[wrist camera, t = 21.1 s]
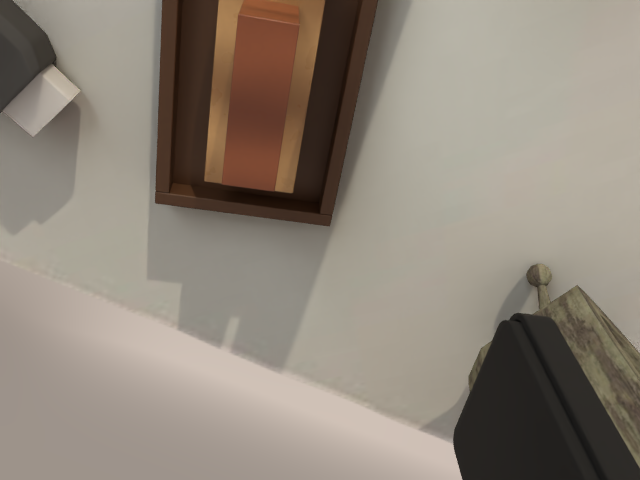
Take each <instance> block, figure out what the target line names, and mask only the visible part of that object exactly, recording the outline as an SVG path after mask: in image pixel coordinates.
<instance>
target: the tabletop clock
mask: <svg viewBox="0 0 640 480" xmlns="http://www.w3.org/2000/svg"><path fill="white" fill-rule="evenodd" d="M527 279H528V281H529V283H530V284H531V285H533V286H535V287H538V298H539V309H540V310H539V311H537V312H536V313H534V314H533V315H539V316H547V317H550V318H552V319H553V320H554V321H555V323H556V325H557V326H558V328H559V330H560V331H561V333H562V335H563V337H564V338H565V340H566V342H567V344H568V345H569V347H570V349H571V350H572V352H573V354H574V356H575V357H576V359H577V361H578V362H579V364H580V366H581V368H582V369H583V371H584V373H585V375H586V376H587V378H588V380H589V381H590V383H591V385H592V387H593V388H594V390H595V392H596V394H597V395H598V397H599V399H600V400H601V402H602V404H603V406H604V407H605V409H606V411H607V412H608V414H609V416H610V418H611V419H612V421H613V423H614V425H615V426H616V428H617V430H618V431H619V433H620V435H621V437H622V438H623V440H624V442H625V444H626V445H627V447H628V449H629V450H630V452H631V454H632V456H633V457H634V459H635V461H636V463H637V464H638V466H639V468H640V353H639V352H638V351H637V350H636V349H635V348H634V346H633V345H632V344H631V343H630V342H629V341H628V340H627V338H626V337H625V336H624V335H623V334H622V333H621V332H620V330H619V329H618V328H617V327H616V326H615V325H614V324H613V323H612V322H611V320H610V319H609V318H608V317H607V316H606V315H605V314H604V313H603V312H602V311H601V309H600V308H599V307H598V306H597V305H596V304H595V303H594V302H593V301H592V300H591V299H590V297H589V296H588V295H587V294H586V293H585V292H584V291H583V290H582V289H581V288H580V287H578V286H575V287H574V288H572V289H571V290H569V291H568V292H566V293H565V294H563V295H562V296H560V297H559V298H557V299H556V300H554V301H552V302H550V299H549V296H548V293H547V289H546V286H547V285H548V283H549V282H550V281H551V279H552V275H551V272H550V269H549V268H548V267H546V266H545V265H543V264H536V265H533V266H531V267H530V269H529V270H528V271H527ZM491 342H492V341H491ZM491 342H490V343H488V344H487V345H485V346H484V347H482V348H481V350H480V352H479V354H478V357H477V359H476V361H475V363H474V365H473V368H472V370H471V372H470V374H469V388H470V392H471V389H472V387H473V385H474V382H475V380H476V378H477V375H478V373H479V371H480V368H481V366H482V364H483V361H484V359H485V357H486V354H487V352H488V349H489V347H490V345H491Z"/></svg>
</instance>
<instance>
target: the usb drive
mask: <svg viewBox="0 0 640 480" xmlns="http://www.w3.org/2000/svg"><path fill="white" fill-rule="evenodd" d="M55 60H56V55H55V53H54V51H53V48H52V46H51V44H50V41H49V39H48V37H47V35H46V33H45V32H44V31H43V30H42V29H41V28H40V27H39V26H38V25H37V24H36V23H35V22H34V21H33V20H32V19H31V18H30V17H29V16H28V15H27V14H26V13H25V12H24V11H23V10H21V9H20V8H19V7H18V6H17V5H16V4H15V3H14V2H13V1H12V0H0V113H1V112H2V111H3V112H4V113H5V114H7V115H8V116H9V117H10V118H11V119H12V120H13V121H15V122H16V123H17V124H18V125H19V126H20V127H22V128H23V129H24V130H25V131H26V132H27V133H28V134H30V135H31V136H32V137H34V136H35V135H36V134H37V133H38V132H39V131H40V130H41V129H42V128H43V127H44V126H45V125H46V124H47V123H48V122H49V121H50V120H52V119H53V118H54V117H55V116H56V115H57V114H58V113H59V112H60V111H61V110H62V109H63V108H64V107H65V106H66V105H67V104H68V103H69V102H70V101H71V100H72V99H73V98H74V97H75V96H76V95H77V94H78V93H79V92H80V90H79V89H78V88H77V87H76V86H75V85H74V84H73V83H72V82H71V81H70V80H69V79H67V78H66V77H65V76H64V75H63V74H62V73H61V72H60V71H59V70H58V69H57V68H56V67H55V66H54V65H53V64H52V63H53V62H54V61H55Z"/></svg>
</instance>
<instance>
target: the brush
mask: <svg viewBox="0 0 640 480" xmlns="http://www.w3.org/2000/svg"><path fill="white" fill-rule="evenodd" d="M324 6H325V0H219V2H218V15H217V27H216V39H215V52H214V64H213V77H212V89H211V101H210V114H209V126H208V138H207V151H206V163H205V176H204V181H207V182H214V183H221V184H222V185H229V186H236V187H244V188H251V189H258V190H266V191H273V192H274V191H279V192H287V193H293V190H294V184H295V178H296V172H297V166H298V160H299V154H300V148H301V142H302V136H303V131H304V125H305V119H306V113H307V107H308V101H309V95H310V89H311V83H312V77H313V71H314V65H315V59H316V53H317V48H318V42H319V36H320V30H321V24H322V18H323V12H324Z"/></svg>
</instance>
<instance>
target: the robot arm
mask: <svg viewBox="0 0 640 480" xmlns="http://www.w3.org/2000/svg"><path fill="white" fill-rule="evenodd" d="M453 443H454V450H455V454H456V458H457V461H458V465H459V468H460V472H461V476H462V479H463V480H640V468H639V466H638V464H637V463H636V461H635V459H634V457H633V456H632V454H631V452H630V450H629V449H628V447H627V445H626V444H625V442H624V440H623V438H622V437H621V435H620V433H619V431H618V430H617V428H616V426H615V425H614V423H613V421H612V419H611V418H610V416H609V414H608V412H607V411H606V409H605V407H604V406H603V404H602V402H601V400H600V399H599V397H598V395H597V394H596V392H595V390H594V388H593V387H592V385H591V383H590V381H589V380H588V378H587V376H586V375H585V373H584V371H583V369H582V368H581V366H580V364H579V362H578V361H577V359H576V357H575V356H574V354H573V352H572V350H571V349H570V347H569V345H568V344H567V342H566V340H565V338H564V337H563V335H562V333H561V331H560V330H559V328H558V326H557V325H556V323H555V321H554V320H553V319H552V318H550V317H547V316H539V315H530V314H522V313H516V314H514V315H513V316H512V317H511V318H510V320H509V321H508V320H504V321H502V322H501V323H500V324H499V326H498V328H497V331H496V333H495V335H494V338H493V340H492V342H491V345H490V347H489V349H488V352H487V354H486V357H485V359H484V361H483V364H482V366H481V368H480V371H479V373H478V375H477V378H476V380H475V382H474V385H473V387H472V389H471V392H470V394H469V396H468V399H467V401H466V403H465V406H464V408H463V411H462V413H461V415H460V418H459V420H458V422H457V425H456V427H455V430H454V437H453Z"/></svg>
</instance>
